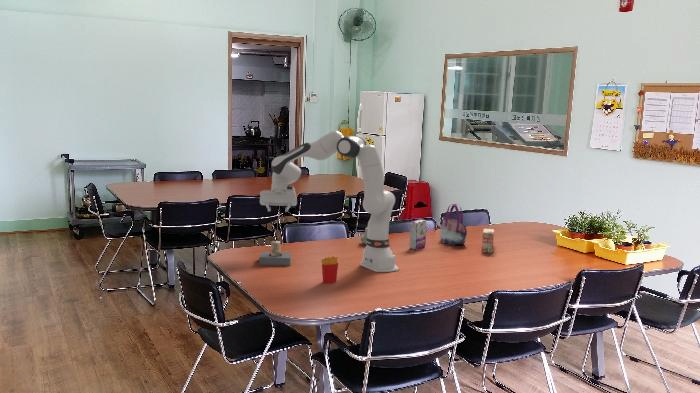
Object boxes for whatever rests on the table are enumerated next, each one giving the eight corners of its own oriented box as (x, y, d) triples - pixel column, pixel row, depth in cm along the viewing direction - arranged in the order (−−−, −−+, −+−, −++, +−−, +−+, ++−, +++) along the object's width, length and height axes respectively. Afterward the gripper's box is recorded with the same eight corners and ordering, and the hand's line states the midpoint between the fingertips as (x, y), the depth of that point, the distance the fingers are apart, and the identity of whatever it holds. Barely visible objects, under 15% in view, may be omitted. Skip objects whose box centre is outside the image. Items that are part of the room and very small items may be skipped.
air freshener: (358, 244, 359) (359, 228, 357) (364, 241, 366) (364, 225, 365) (374, 246, 354) (375, 230, 352) (380, 244, 361) (381, 228, 360)
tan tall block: (279, 259, 311) (280, 241, 310) (279, 261, 308) (280, 242, 306) (271, 259, 311) (271, 241, 309) (270, 261, 307) (271, 242, 306)
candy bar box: (418, 245, 361) (419, 219, 359) (425, 246, 358) (427, 220, 356) (408, 248, 352) (410, 221, 350) (416, 249, 349) (417, 222, 347)
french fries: (334, 279, 282) (335, 255, 281) (338, 281, 279) (339, 257, 277) (319, 281, 278) (320, 257, 276) (323, 284, 274) (324, 259, 273)
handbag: (434, 240, 376) (436, 202, 373) (445, 239, 382) (448, 201, 379) (459, 247, 359) (462, 207, 356) (470, 245, 365) (473, 206, 362)
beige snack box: (482, 244, 371) (484, 225, 369) (493, 245, 369) (494, 226, 367) (481, 252, 350) (482, 232, 348) (492, 253, 349) (493, 233, 347)
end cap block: (291, 259, 316) (291, 252, 315) (290, 265, 304) (290, 258, 303) (260, 259, 315) (261, 251, 314) (259, 265, 303) (259, 257, 302)
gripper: (259, 186, 323) (258, 207, 315) (297, 187, 324) (296, 208, 316) (260, 193, 328) (258, 213, 320) (297, 194, 329) (296, 214, 321)
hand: (277, 210), depth 318 cm, fingers open, 8 cm apart
